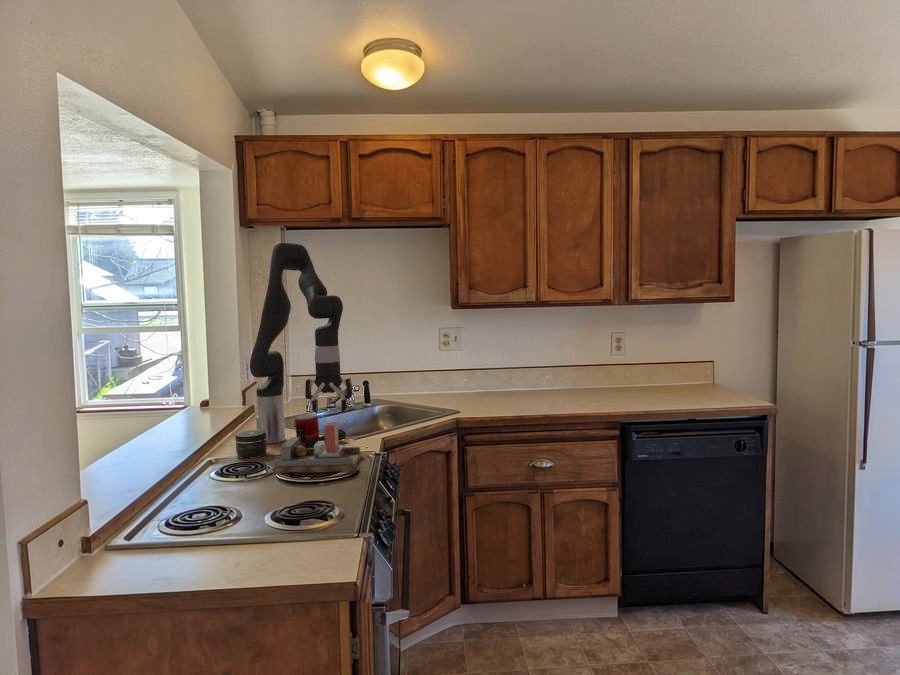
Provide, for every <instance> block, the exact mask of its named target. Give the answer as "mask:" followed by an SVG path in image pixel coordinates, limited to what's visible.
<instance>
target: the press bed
mask: <svg viewBox="0 0 900 675" xmlns="http://www.w3.org/2000/svg"><path fill="white" fill-rule="evenodd" d="M343 458H353V465H342V466H308V467H274V466H273V468H272V474H289V473H288V472H302V473H328V472H330V473H332V472H334V473H335V472H353V471H354V469H355V467H356V465H357V464H358V462H359V461H360V459H361V458H362V452H361V451H360V454H345V455H344V457H343ZM298 459H315V458H314V455H305V456H304V457H299V458H298Z"/></svg>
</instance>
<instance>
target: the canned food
mask: <svg viewBox="0 0 900 675" xmlns="http://www.w3.org/2000/svg"><path fill="white" fill-rule="evenodd" d="M294 424H295V433H296V437H301V446H304V445H305V443H306V441H307V439H309V438H312V437H315V436H316V437H320V430H319V419H318V414H317V413H304V414H303V413H302V414H299V415H296V416H295V417H294Z"/></svg>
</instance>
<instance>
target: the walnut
mask: <svg viewBox="0 0 900 675" xmlns="http://www.w3.org/2000/svg"><path fill="white" fill-rule="evenodd" d="M306 453H307V450H306V448H305V447H304V446H298V447H297V448H296V449H295V455H296V456H297V457H304V456H305V455H306Z"/></svg>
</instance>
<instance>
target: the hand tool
mask: <svg viewBox="0 0 900 675" xmlns="http://www.w3.org/2000/svg"><path fill="white" fill-rule="evenodd" d="M346 436H347V434H346V431H344V430H342V429H338V442H339V441H342V439H344V438H345V439H346ZM318 441H325V434H324V435H321V436H319V437H316V436H315V437H312V438H309V439H307V441H306V443H305V445H304V447H305V448H314V445H315V444H316V443H317V442H318ZM325 446H326V444H325Z"/></svg>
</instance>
